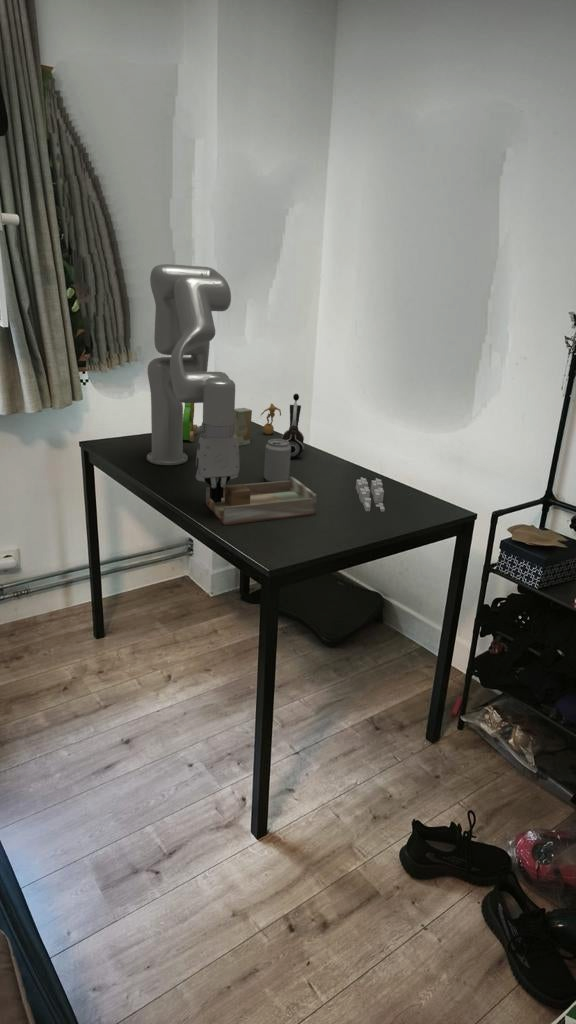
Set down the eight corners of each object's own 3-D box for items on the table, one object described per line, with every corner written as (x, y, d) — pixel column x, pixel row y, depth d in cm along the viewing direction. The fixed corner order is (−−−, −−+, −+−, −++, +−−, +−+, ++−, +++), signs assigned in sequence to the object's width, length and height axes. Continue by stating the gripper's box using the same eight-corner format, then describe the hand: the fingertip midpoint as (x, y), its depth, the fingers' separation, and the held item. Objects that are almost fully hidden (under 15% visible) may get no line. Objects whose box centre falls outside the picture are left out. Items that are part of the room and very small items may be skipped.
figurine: (276, 432, 238) (278, 400, 234) (282, 436, 233) (284, 404, 229) (255, 433, 235) (257, 401, 230) (262, 437, 230) (263, 405, 225)
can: (258, 479, 188) (260, 440, 183) (276, 474, 193) (278, 436, 188) (276, 486, 183) (278, 446, 178) (293, 481, 188) (296, 442, 184)
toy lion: (193, 443, 217) (194, 399, 212) (177, 442, 217) (177, 398, 211) (198, 431, 232) (199, 390, 226) (183, 430, 232) (183, 389, 226)
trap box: (205, 503, 167) (206, 484, 165) (291, 495, 177) (292, 476, 175) (224, 525, 155) (225, 504, 152) (315, 514, 165) (316, 494, 163)
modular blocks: (355, 489, 186) (356, 476, 185) (378, 490, 186) (380, 478, 185) (365, 515, 168) (366, 501, 166) (390, 516, 168) (392, 502, 167)
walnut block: (224, 500, 163) (225, 485, 162) (242, 498, 165) (243, 483, 164) (231, 507, 159) (231, 492, 158) (249, 505, 161) (250, 490, 160)
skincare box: (237, 446, 217) (238, 411, 212) (228, 443, 220) (230, 409, 215) (251, 443, 222) (252, 409, 217) (242, 441, 224) (244, 407, 220)
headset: (281, 446, 222) (285, 390, 214) (303, 447, 222) (307, 392, 214) (279, 460, 206) (283, 400, 199) (302, 462, 206) (307, 402, 199)
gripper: (192, 435, 146) (191, 509, 153) (252, 432, 152) (249, 503, 159) (183, 427, 153) (183, 498, 159) (241, 424, 159) (238, 493, 166)
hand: (216, 500), depth 159 cm, fingers closed
